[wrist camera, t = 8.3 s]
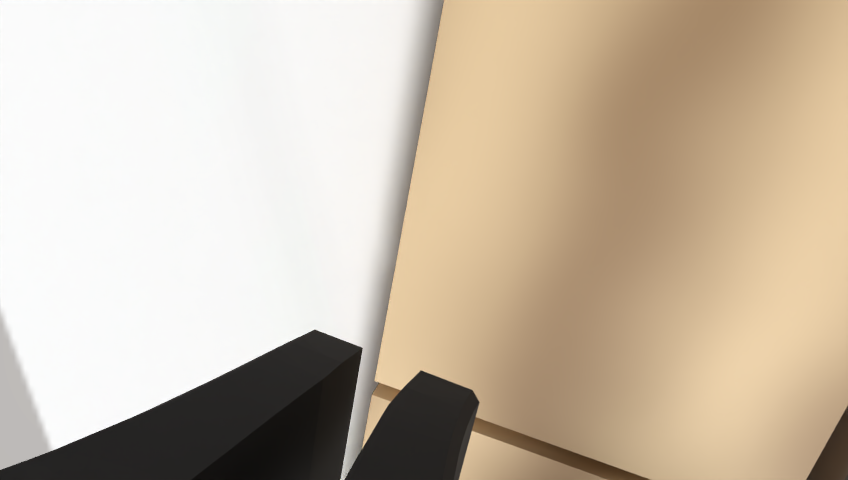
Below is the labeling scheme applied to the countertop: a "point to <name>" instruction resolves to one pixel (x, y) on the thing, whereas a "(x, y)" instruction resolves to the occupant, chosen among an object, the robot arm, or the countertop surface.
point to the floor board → (833, 454)
